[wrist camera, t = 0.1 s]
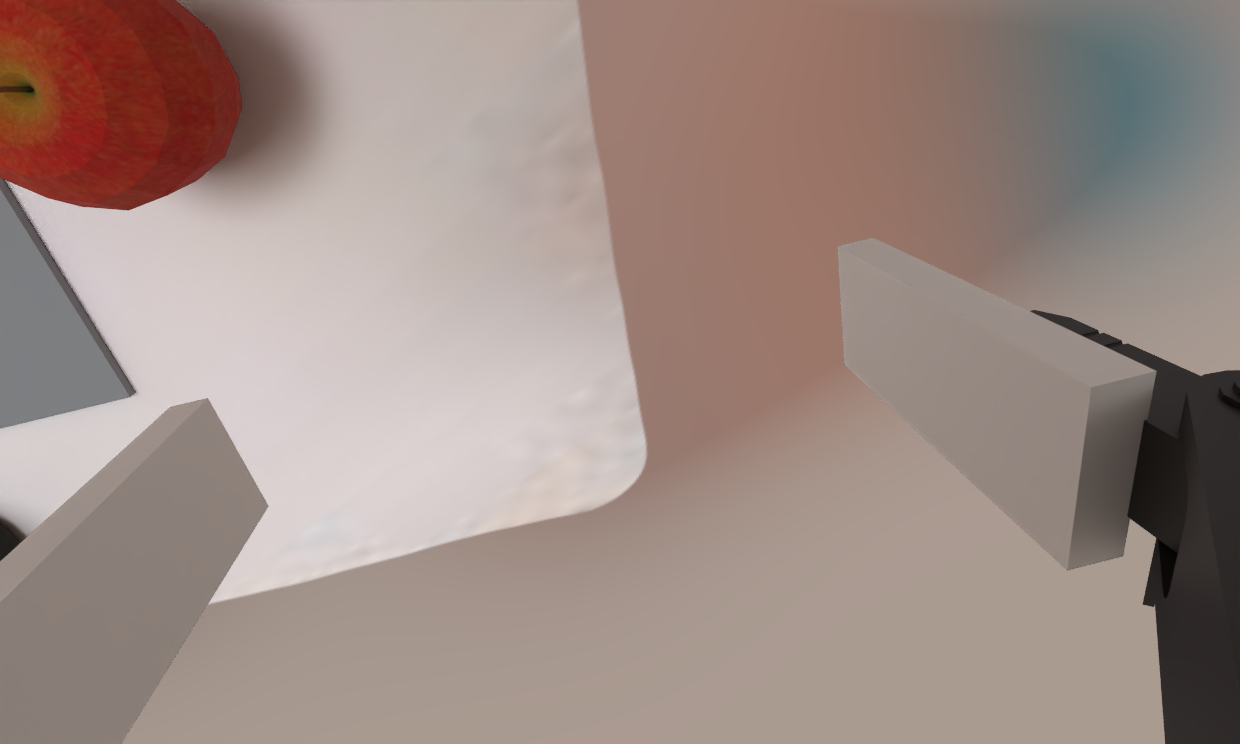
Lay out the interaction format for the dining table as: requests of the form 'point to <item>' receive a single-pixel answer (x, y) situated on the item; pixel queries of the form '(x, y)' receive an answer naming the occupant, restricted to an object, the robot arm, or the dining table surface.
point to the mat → (45, 332)
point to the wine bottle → (6, 542)
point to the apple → (111, 99)
